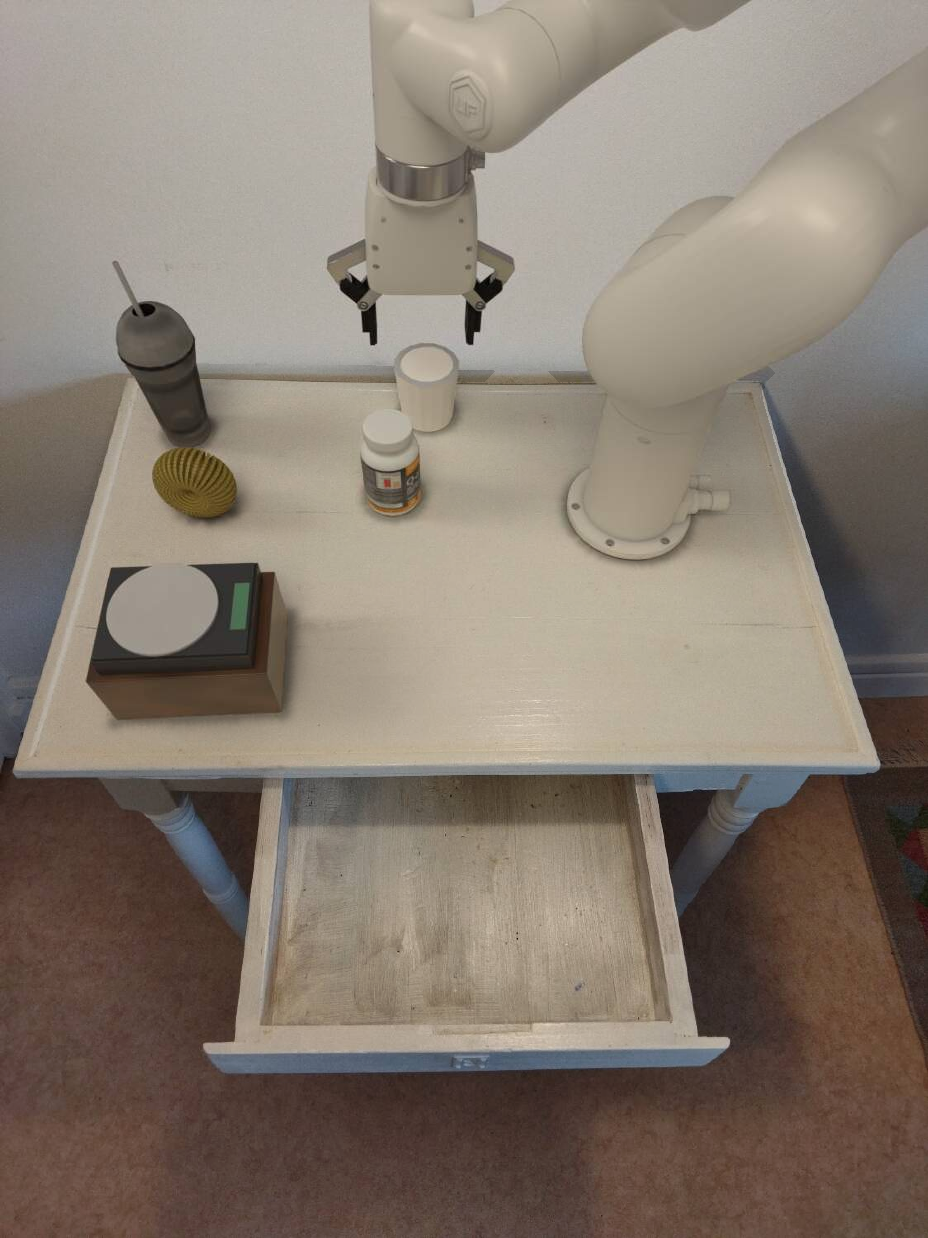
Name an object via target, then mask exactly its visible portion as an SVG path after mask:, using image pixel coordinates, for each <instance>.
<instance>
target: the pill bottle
mask: <svg viewBox="0 0 928 1238" xmlns="http://www.w3.org/2000/svg"><path fill="white" fill-rule="evenodd" d="M359 446H360V447H359V456H360V457H359V458H360V463H361V471H362V481H363V487H364V494H365V495H364V496H365V498H366V503H367V504H368V506H370V508H371V509H372V510H373V511H375V512H376V513H378V514H380V515H383V516H390V517H396V516H401V515H405V514H407V513H409V512H411V511H412V510H414V508H415V507H416V506H417V505H418V504H419V502H420V499H421V495H422V493H421V491H422V487H421V486H422V485H421V462H420V461H421V457H420V456H421V455H420V444H419V441H418V439H417V437H416V435H415V434H414V429H413V425H412V421H411V419H410V418H409V417H408V416H407V415H406V414H405V413H403V412H402V411H401V410H398V409H394V408H381V409H378V410H375V411H373V412H371V413H370V414H369V415H368V416H366V418H365V419H364V421H363V423H362V441H361V442H360V445H359Z"/></svg>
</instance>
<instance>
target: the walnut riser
mask: <svg viewBox="0 0 928 1238" xmlns="http://www.w3.org/2000/svg"><path fill="white" fill-rule="evenodd" d="M261 574H262V587H261V598H260V609H259V621H258V632H257V643H256V654H255V666H254V669H238V670H214V671H191V672H167V673H143V674H120V675H99V674H98V673H97V671H96V670H95V669H94V668H93V666H92V665H91V664H90V662H91V657H92V654H91V655H90V660H89V664H88V669H87V674H86V677H85V683H86V684H87V685H88V686H89V688H90V689H91V690H92V692H93V693H94V694H95V695H96V696H97V698H98V699H99V700H100V701H101V702H102V704H103V705H104V707H106V709H107V710H108V711H109V712H110V713H111V714H112V716H113V717H114V718H115V719H116V720H130V719H131V720H135V719H136V720H137V719H155V718H159V719H160V718H179V717H197V716H198V717H201V716H202V717H203V716H221V715H223V716H225V715H243V714H264V713H266V714H268V713H282V711H283V709H282V708H283V697H284V696H283V695H284V683H285V682H284V681H285V679H284V678H285V663H286V649H287V635H288V619H289V614H288V611H287V607H286V605H285V602H284V601H285V600H284V597H283V594H282V591H281V588H280V583H279V582H278V578H277V575H276V572H275V571H261ZM107 583H108V580H107V581H106V584H105V585H106V586H105V590H104V593H105V592H106V588H107ZM104 597H105V594H103V599H102V602H103V601H104ZM102 606H103V603H102V605H101V609H100V614H99V616H100V615H101V611H102ZM99 620H100V617H99V618H98V623H97V628H96V630H97V629H98V625H99ZM96 634H97V631H96V632H95V636H94V641H93V645H92V651H91V653H92V652H93V648H94V643H95V639H96Z"/></svg>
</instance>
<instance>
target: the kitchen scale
mask: <svg viewBox="0 0 928 1238" xmlns="http://www.w3.org/2000/svg"><path fill="white" fill-rule="evenodd" d="M261 572H262V570H261V568H260V565H259V563H258V562H232V563H231V562H229V563H204V564H203V563H202V564H183V563H174V562H173V563H171V562H170V563H160V564H156V565H145V566H144V565H142V566H117V567H116V566H113V567H110V570H109V574H108V578H107V581H108V583H107V582H106V585H107V588H106V587H105V590H106V592H105V591H104V595H105V597H104V596H103V599H104V601H103V600H102V604H103V606H102V605H101V608H102V611H101V610H100V613H101V615H100V614H99V618H100V620H99V619H98V622H99V625H98V624H97V627H98V629H97V628H96V632H97V634H96V633H95V636H96V639H95V638H94V641H95V643H94V642H93V645H94V648H93V647H92V650H93V652H92V651H91V655H92V657H91V656H90V659H91V662H90V661H89V664H91V665H92V666H93V668H94V669H95V670H96V671H97V673H98V674H99V675H120V674H143V673H167V672H191V671H214V670H238V669H254V666H255V654H256V643H257V632H258V621H259V609H260V598H261V587H262V574H261Z"/></svg>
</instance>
